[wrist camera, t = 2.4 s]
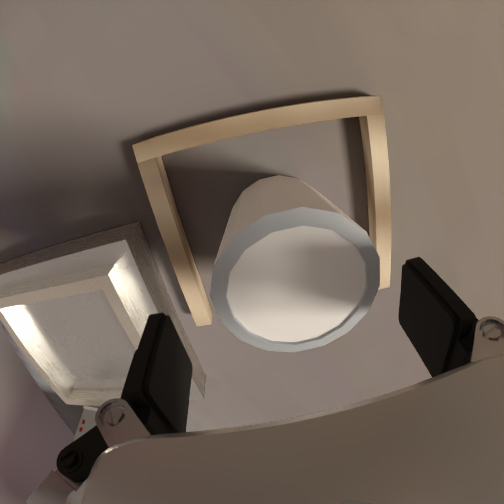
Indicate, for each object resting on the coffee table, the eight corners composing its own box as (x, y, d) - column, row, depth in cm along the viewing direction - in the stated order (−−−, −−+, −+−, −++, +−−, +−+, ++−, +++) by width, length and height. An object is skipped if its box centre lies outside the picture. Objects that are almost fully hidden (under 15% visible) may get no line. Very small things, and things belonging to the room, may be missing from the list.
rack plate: (-2, 264, 18) (-27, 289, 15) (139, 221, 17) (118, 250, 14) (76, 382, 25) (64, 411, 22) (206, 375, 24) (203, 411, 21)
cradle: (138, 141, 15) (131, 145, 14) (372, 95, 14) (380, 95, 13) (198, 314, 21) (196, 326, 20) (383, 277, 20) (389, 286, 19)
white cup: (243, 146, 16) (246, 179, 10) (354, 190, 17) (411, 245, 11) (204, 254, 19) (189, 333, 13) (306, 284, 20) (331, 365, 14)
